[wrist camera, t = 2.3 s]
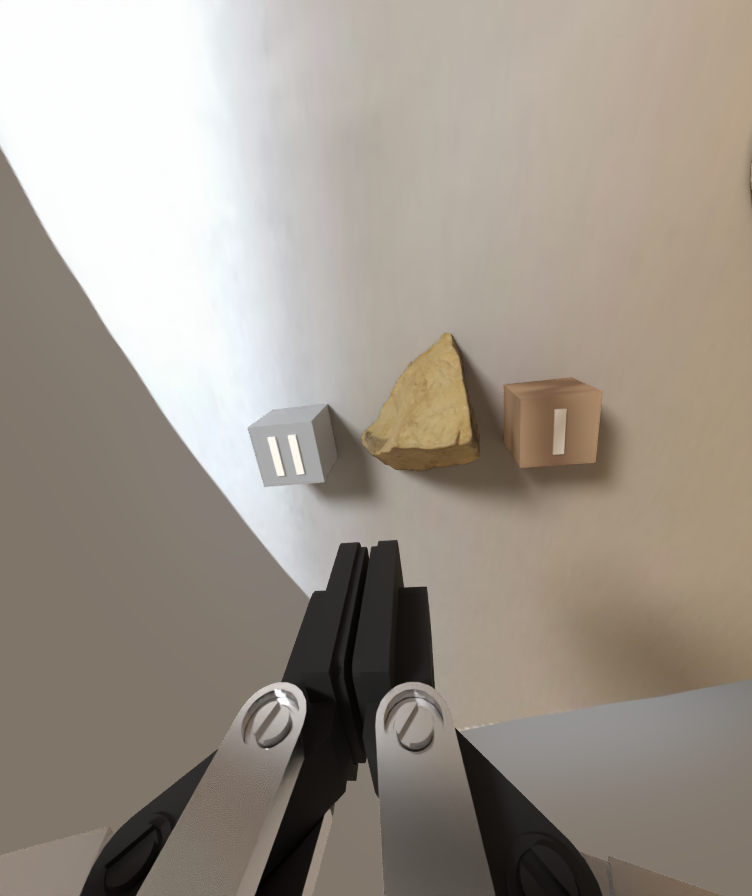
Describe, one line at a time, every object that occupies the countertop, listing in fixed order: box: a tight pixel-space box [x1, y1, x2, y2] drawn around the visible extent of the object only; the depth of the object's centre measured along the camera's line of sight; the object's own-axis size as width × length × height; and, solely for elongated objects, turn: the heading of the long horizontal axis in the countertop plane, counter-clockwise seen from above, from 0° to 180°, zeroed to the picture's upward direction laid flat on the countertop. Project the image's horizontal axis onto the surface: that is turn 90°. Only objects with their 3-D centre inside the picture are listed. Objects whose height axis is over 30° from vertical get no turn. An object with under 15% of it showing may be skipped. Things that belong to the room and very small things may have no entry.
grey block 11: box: [248, 404, 338, 487], centre depth 29 cm, size 5×5×5 cm
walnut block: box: [504, 378, 602, 468], centre depth 26 cm, size 5×5×5 cm
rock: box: [361, 333, 480, 471], centre depth 26 cm, size 11×9×10 cm
